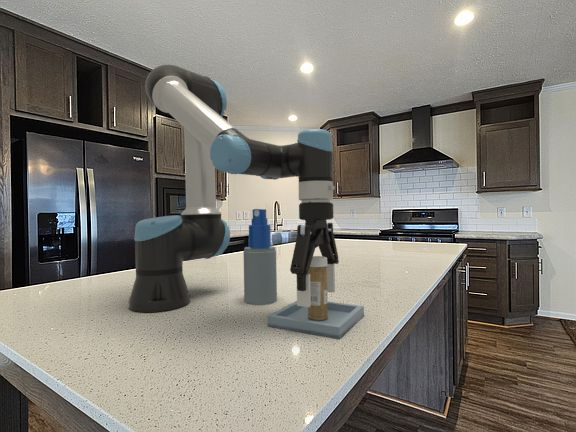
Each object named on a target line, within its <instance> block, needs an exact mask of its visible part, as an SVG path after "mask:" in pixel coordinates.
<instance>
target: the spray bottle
mask: <svg viewBox="0 0 576 432" xmlns="http://www.w3.org/2000/svg"><path fill="white" fill-rule="evenodd" d="M271 240H272V236H271V224H269V223H268V218H267V209H263V208H262V209H261V208H254V209H252V218H251V224H249V225H248V246H245V247H244V249H243V288H244V289H243V291H244V292H243V294H244V297H243V298H244V299H243V300H244V303H246V304H248V305H255V306H259V305H260V306H261V305H262V306H264V305H270V304H273V303H276V302H277V301H278V290H277V288H278V285H277V283H278V281H277V280H278V279H277V250H276V246H272V244H271V243H272V241H271Z"/></svg>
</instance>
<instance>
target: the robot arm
mask: <svg viewBox="0 0 576 432" xmlns="http://www.w3.org/2000/svg"><path fill="white" fill-rule="evenodd" d="M144 87H145V93H146V97H148V99H149V101H150V102H151V103H152V105H153V106H155V107H156V108H157V109H158V110H159V111H161V112H163V113H166V114H168V115H170V116H171V117H172V118H174V119H175V120H176V121H177V122H178V123H179V124H180V125H181V126H182V127H183V130H184V131H183V135H184V166H185V168H184V169H185V171H184V172H185V176H184V177H185V205H186V206H185V209H184V210H183V211H182V212H181V213H180V215H176V214H175V215H164V216H158V217H157V216H156V217H150V218H149V217H148V218H144V219H142V220H139V221H137V223H136V224H135V229H134V237H133V239H134V248H135V250H134V253H135V254H134V257H135V278H134V280H135V281H134V282H133V286H132V289H131V293H130V296H129V298H128V299H129V300H128V308H129V310H130V311H134V312H138V313H139V312H140V313H150V312H151V313H156V312H167V311H171V310H176V309H179V308H183V307H184V306H187V305H188V304H190V302H191V296H190V295H191V293H190V291H189V289H188V286H187V283H186V279H185V277H184V272H183V265H184V264H183V262H189V261H190V262H191V261H196V260H202V259H203V260H204V259H205V260H206V259H211V258H214V257H218V256H221V255H222V254H223V253H224V252H225V250H226V249H227V248H228V246H229V243H230V241H231V240H230V239H231V231H230V230H231V229H230V227H229V225H228V223H227V221H225V220H224V219H222V212H221V211H220V210H219V209H218V208H217V202H216V201H217V199H216V198H217V196H216V195H217V194H216V192H217V191H216V170H218V171H220V172H223V173H227V174H230V175H246V176H256V177H260V178H262V179H264V180H276V181H277V180H279V179H287V178H293V177H296V178H298V179H297V180H298V200H299V201H301V202H300V203H299V204H298V219H299V220H301V221H305V223H304V224H298V225H297V227H296V228H297V229H296V239H295V244H294V248H293V254H292V259H291V264H290V268H289V270H290V272H291V274H292V275H293V274H294V275H296V301H297V306H303V307H310V306H311V297H310V274H308V271H309V267H310V264H311V261H312V258H313V256H314V254H315V251H316V249H317V248H318V249H319V251H320V253H321V256H323V257H327V269H326V270H327V293H335V292H336V278H335V277H336V274H335V273H336V272H335V270H336V268H335V265H339V262H340V261H339V254H338V248H337V245H336V244H337V243H336V239H335V235H334V224H333V222H327V221H328V220H333V219H334V203H333V202H331V201H332V200H334V190H336V189H335V188H336V187H335V185H334V184H333V183H334V180H333V153H334V149H333V140H332V137H333V136H332V134H331V132H330V131H328V130H326V129H321V128H309V129H303V130H301V131H300V132H298V134H297V140H296V141H297V142H294V143H291V144H290V143H289V144H285V145H279V144H278V145H277V144H273V143H269V142H264V141H260V140H255V139H252V138H251V139H250V138H249V137H248V136H246V135H245V134H243V133H242V132H241V131H240V130H238V129H237V128H236V127H235V126H234V125H233V124H231V123H230V122H229V121H228V120H226V119H225V118H223V116H224V114H225V111H226V110H227V103H228V99H227V93H226V91H225V89H224V87H223V86H222V85H221V84H220V83H219V82H218V81H216V80H214V79H212V78H211V77H208V76H205V75H201V74H199V73H196V72H193V71H190V70H188V69H185V68H182V67H180V66H177V65H174V64H173V65H172V64H162V65H159V66H158V65H157V66H156V67H155V68H153V69H152V70H151V71H150V72H149V73H148V74H147V77H146V79H145V83H144Z"/></svg>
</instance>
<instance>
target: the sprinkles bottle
mask: <svg viewBox="0 0 576 432" xmlns="http://www.w3.org/2000/svg"><path fill="white" fill-rule="evenodd" d="M326 269H327V257H323V256H322V255H313V258H312V261H311V264H310V267H309V271H308V274H310V297H311V306H310V307H308V318H309V319H311V320H316V321H320V320H325V319H327V318H328V312H327V303H328V302H329V301H328V300H329V299H328V292H327V270H326Z"/></svg>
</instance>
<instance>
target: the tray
mask: <svg viewBox="0 0 576 432" xmlns="http://www.w3.org/2000/svg"><path fill="white" fill-rule="evenodd" d="M327 312H328V318H327V319H325V320H320V321H316V320H311V319H309V318H308V307H303V306H297V300H296V301H294V302H291V303H289V304H287V305H285V306H283V307H282V308H280V309H279V310H276V311H274V312H272V313H270V314H268V315H267V316H266V318H267V327H269V328H275V329H280V330H281V329H282V330H286V331H293V332H298V333H302V334H303V333H304V334H309V335H315V336H319V337H325V338H326V337H327V338H333V339H337V340H340V339H341V338H343V336H344V335H345V334H347V333H348V331H349V330H351V328H353V327H354V326H355V325H356V324H357V323H358V322H359V321H360V320H361V319H363V317H364V316H365V307H364V305H359V304H350V303H344V302H343V303H342V302H335V301H334V302H333V301H328V303H327Z"/></svg>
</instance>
